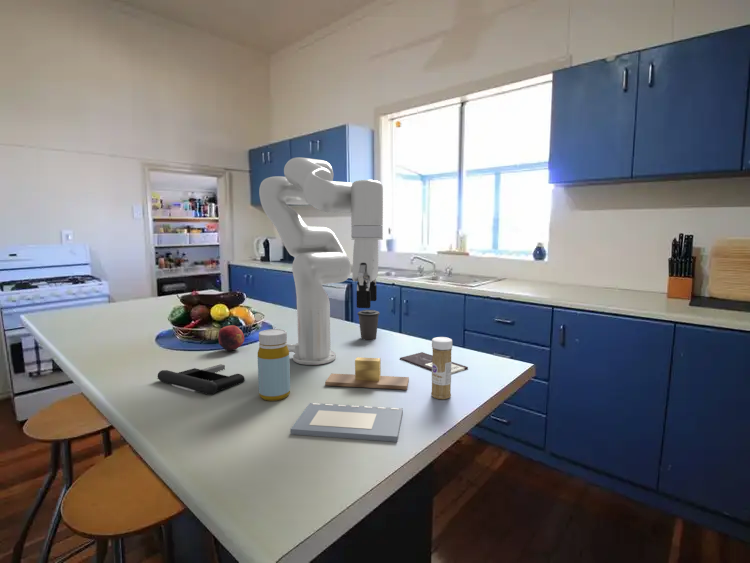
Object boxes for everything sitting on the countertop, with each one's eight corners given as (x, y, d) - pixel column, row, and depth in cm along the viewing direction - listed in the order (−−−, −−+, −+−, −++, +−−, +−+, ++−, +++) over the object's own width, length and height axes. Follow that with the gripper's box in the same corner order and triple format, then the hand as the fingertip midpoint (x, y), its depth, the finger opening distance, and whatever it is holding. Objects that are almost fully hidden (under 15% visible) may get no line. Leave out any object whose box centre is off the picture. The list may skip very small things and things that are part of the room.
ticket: (290, 434, 77) (290, 428, 76) (310, 407, 88) (309, 402, 88) (397, 441, 74) (397, 436, 74) (402, 412, 85) (402, 407, 85)
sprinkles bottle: (427, 396, 94) (427, 338, 93) (439, 390, 97) (440, 335, 96) (443, 401, 91) (444, 342, 89) (455, 396, 94) (456, 338, 92)
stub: (325, 385, 100) (324, 361, 100) (331, 376, 106) (331, 354, 106) (407, 389, 97) (407, 365, 97) (408, 380, 103) (408, 357, 103)
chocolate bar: (422, 352, 127) (467, 366, 113) (422, 355, 127) (467, 370, 113) (400, 357, 121) (445, 374, 107) (400, 360, 122) (445, 377, 107)
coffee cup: (362, 342, 141) (362, 313, 139) (354, 336, 148) (353, 309, 147) (383, 339, 144) (383, 311, 143) (374, 334, 151) (374, 307, 150)
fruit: (248, 347, 135) (247, 323, 134) (238, 354, 127) (237, 329, 126) (225, 346, 136) (224, 323, 135) (214, 353, 128) (212, 328, 127)
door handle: (206, 358, 117) (152, 371, 103) (258, 369, 107) (206, 386, 93) (206, 369, 117) (152, 384, 103) (258, 382, 107) (206, 400, 93)
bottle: (274, 404, 90) (272, 337, 88) (252, 397, 94) (250, 333, 92) (296, 393, 96) (294, 330, 94) (275, 387, 100) (273, 327, 98)
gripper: (358, 233, 107) (358, 297, 109) (343, 233, 90) (344, 310, 92) (386, 233, 106) (386, 298, 108) (377, 234, 89) (377, 311, 91)
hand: (367, 304), depth 100 cm, fingers open, 9 cm apart
